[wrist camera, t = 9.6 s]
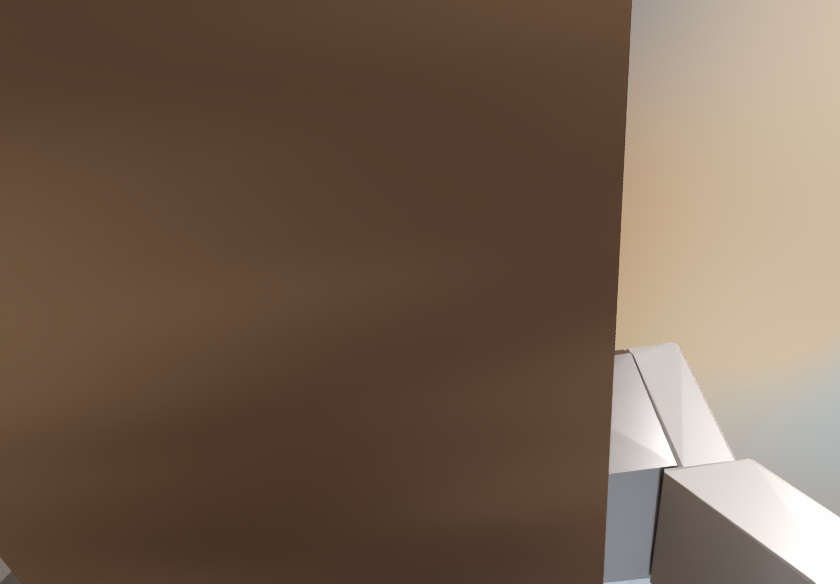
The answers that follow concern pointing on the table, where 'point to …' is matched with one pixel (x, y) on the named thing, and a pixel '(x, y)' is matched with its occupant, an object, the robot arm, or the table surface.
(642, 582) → the table surface
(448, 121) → the rail
